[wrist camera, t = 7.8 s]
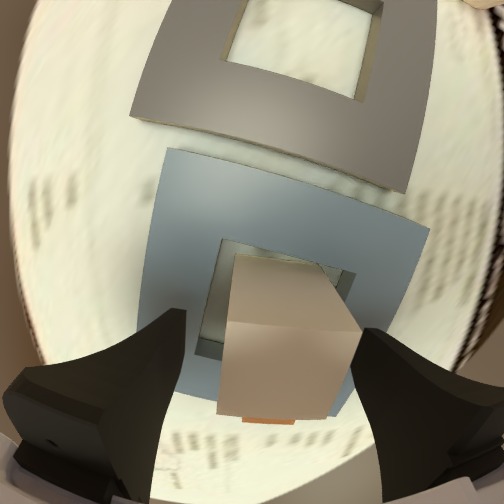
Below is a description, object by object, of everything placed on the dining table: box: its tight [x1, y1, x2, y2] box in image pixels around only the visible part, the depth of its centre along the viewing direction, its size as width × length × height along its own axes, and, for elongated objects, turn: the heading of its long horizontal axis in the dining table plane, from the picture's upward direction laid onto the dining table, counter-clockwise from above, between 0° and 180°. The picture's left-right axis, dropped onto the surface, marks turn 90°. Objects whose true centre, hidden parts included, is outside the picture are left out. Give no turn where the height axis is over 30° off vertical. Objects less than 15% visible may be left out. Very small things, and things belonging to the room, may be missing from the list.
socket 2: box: [137, 148, 430, 417], centre depth 14 cm, size 12×12×2 cm
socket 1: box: [129, 0, 437, 194], centre depth 10 cm, size 12×12×2 cm
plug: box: [216, 254, 362, 425], centre depth 11 cm, size 4×5×6 cm
